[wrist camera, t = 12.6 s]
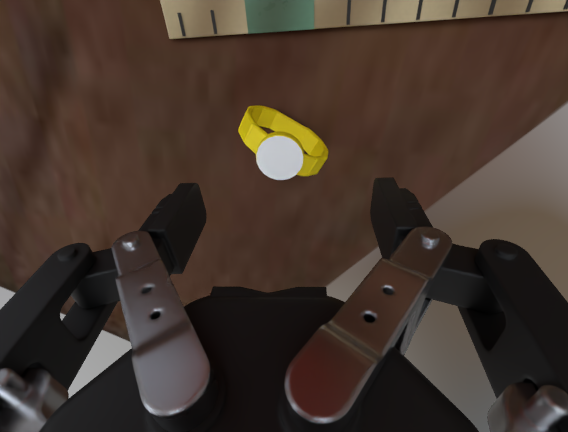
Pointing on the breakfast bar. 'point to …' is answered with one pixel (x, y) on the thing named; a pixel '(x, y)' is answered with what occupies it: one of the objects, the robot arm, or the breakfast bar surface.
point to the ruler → (328, 13)
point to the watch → (281, 144)
